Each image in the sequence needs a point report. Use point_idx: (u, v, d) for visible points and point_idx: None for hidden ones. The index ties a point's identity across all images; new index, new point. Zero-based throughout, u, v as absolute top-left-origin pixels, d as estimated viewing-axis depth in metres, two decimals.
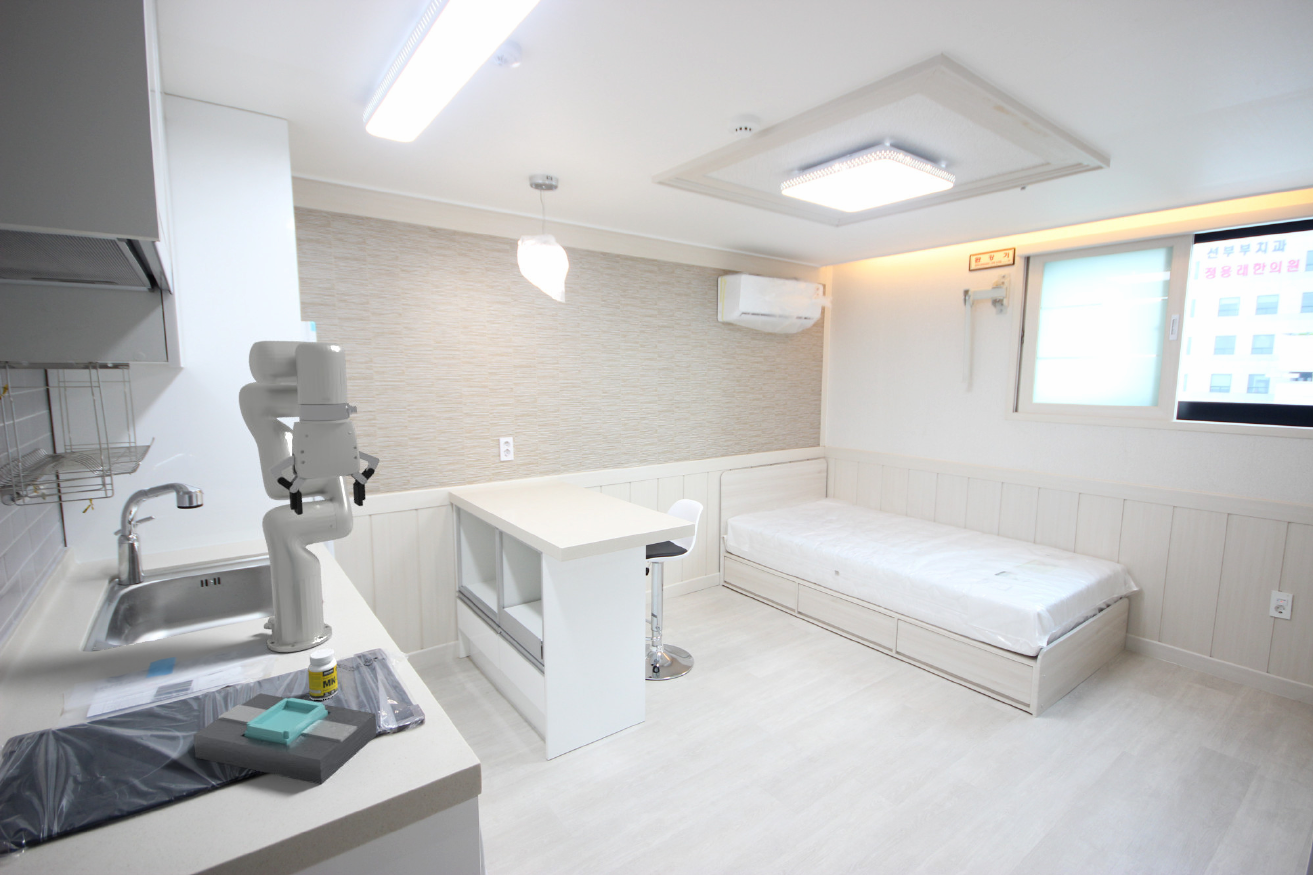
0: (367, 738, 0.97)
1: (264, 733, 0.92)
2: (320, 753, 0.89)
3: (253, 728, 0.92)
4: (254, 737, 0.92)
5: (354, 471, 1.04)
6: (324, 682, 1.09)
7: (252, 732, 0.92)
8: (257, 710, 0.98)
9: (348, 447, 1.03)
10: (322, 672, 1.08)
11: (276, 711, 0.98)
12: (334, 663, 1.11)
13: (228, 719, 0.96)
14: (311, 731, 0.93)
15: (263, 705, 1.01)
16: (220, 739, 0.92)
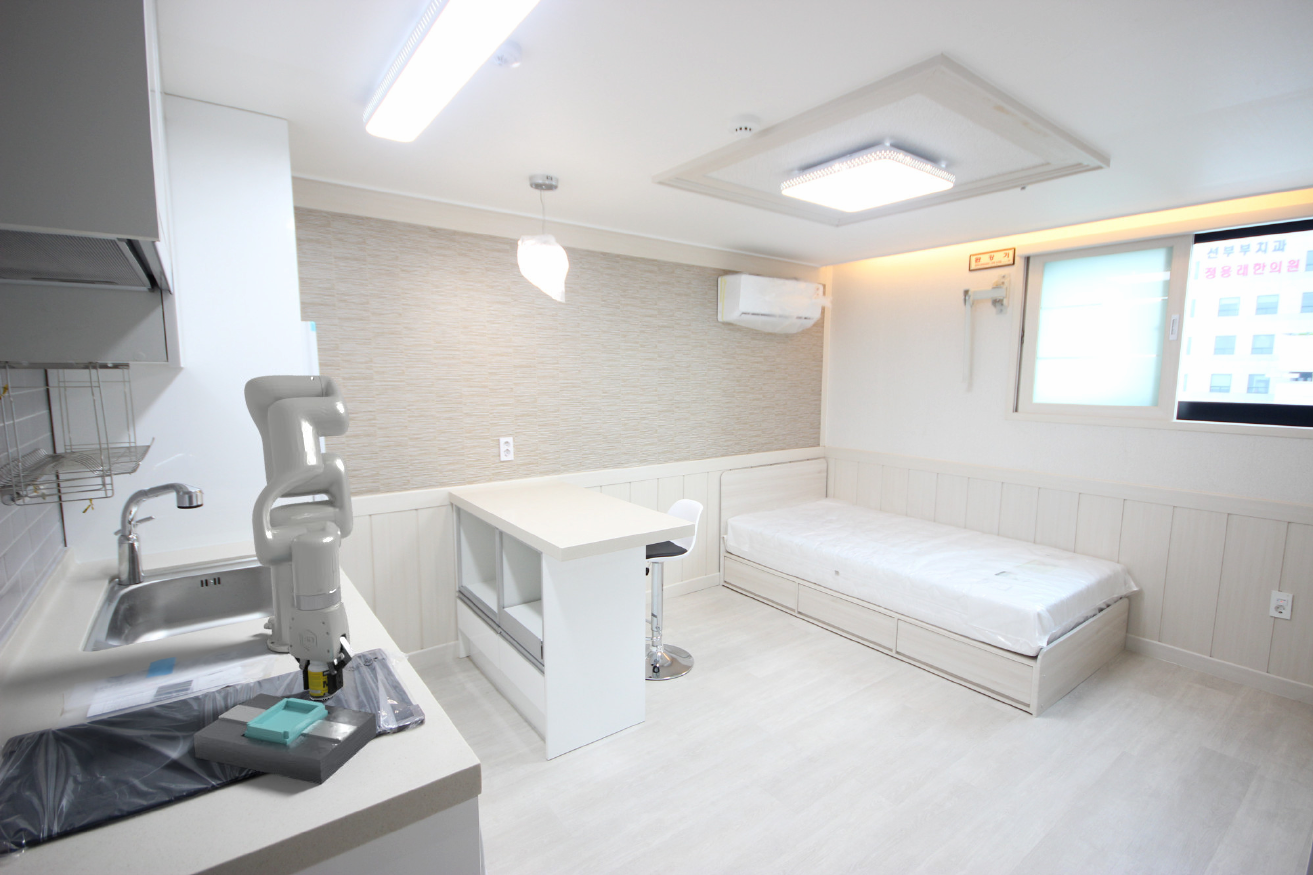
0: (367, 738, 0.97)
1: (264, 733, 0.92)
2: (320, 753, 0.89)
3: (253, 728, 0.92)
4: (254, 737, 0.92)
5: None
6: (324, 682, 1.09)
7: (252, 732, 0.92)
8: (257, 710, 0.98)
9: None
10: (322, 671, 1.08)
11: (276, 711, 0.98)
12: None
13: (228, 719, 0.96)
14: (311, 731, 0.93)
15: (263, 705, 1.01)
16: (220, 739, 0.92)
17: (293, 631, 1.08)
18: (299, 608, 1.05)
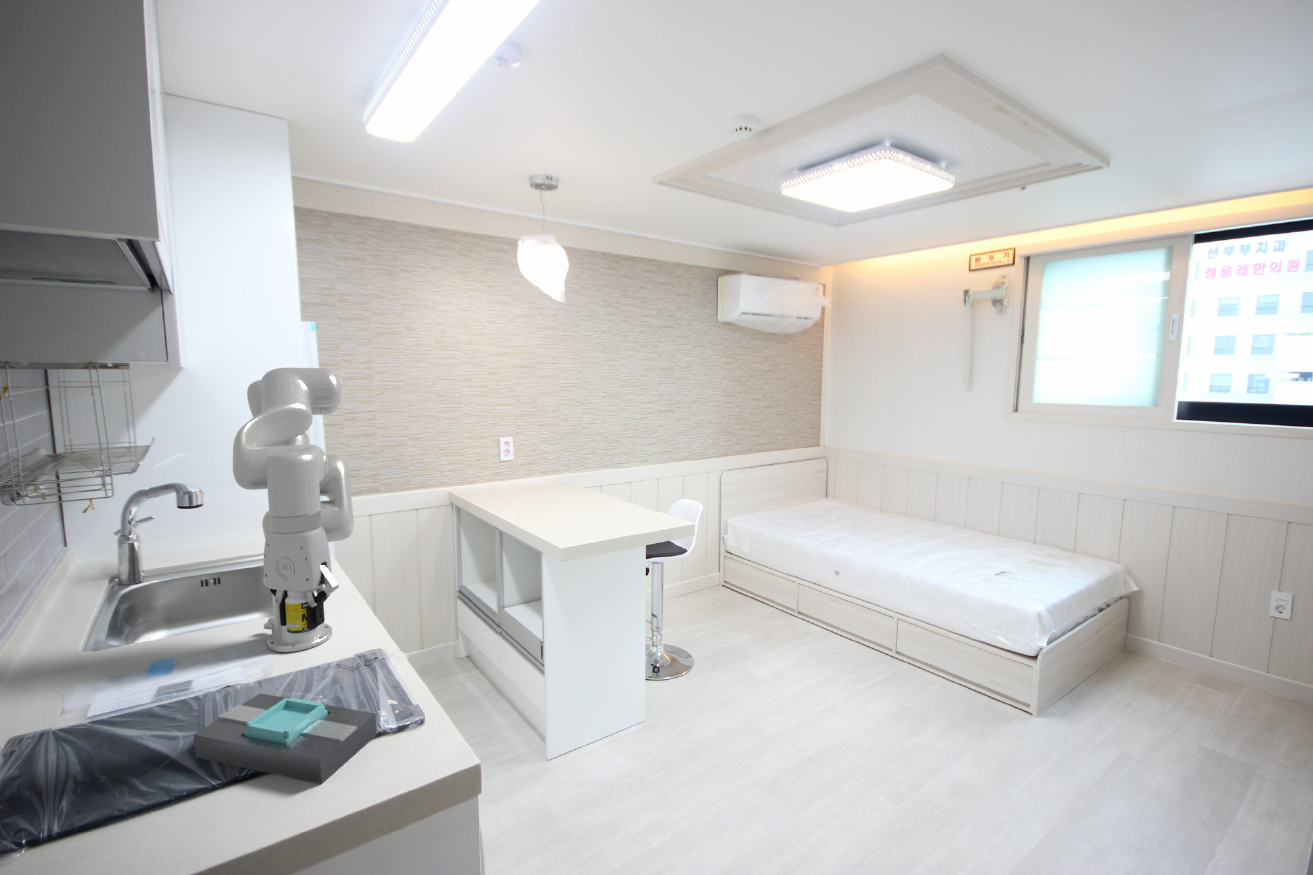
0: (367, 738, 0.97)
1: (264, 733, 0.92)
2: (320, 753, 0.89)
3: (253, 728, 0.92)
4: (254, 737, 0.92)
5: None
6: (303, 615, 0.99)
7: (252, 732, 0.92)
8: (257, 710, 0.98)
9: None
10: (300, 603, 0.99)
11: (276, 711, 0.98)
12: None
13: (228, 719, 0.96)
14: (311, 731, 0.93)
15: (263, 705, 1.01)
16: (220, 739, 0.92)
17: (268, 559, 0.98)
18: (275, 531, 0.96)
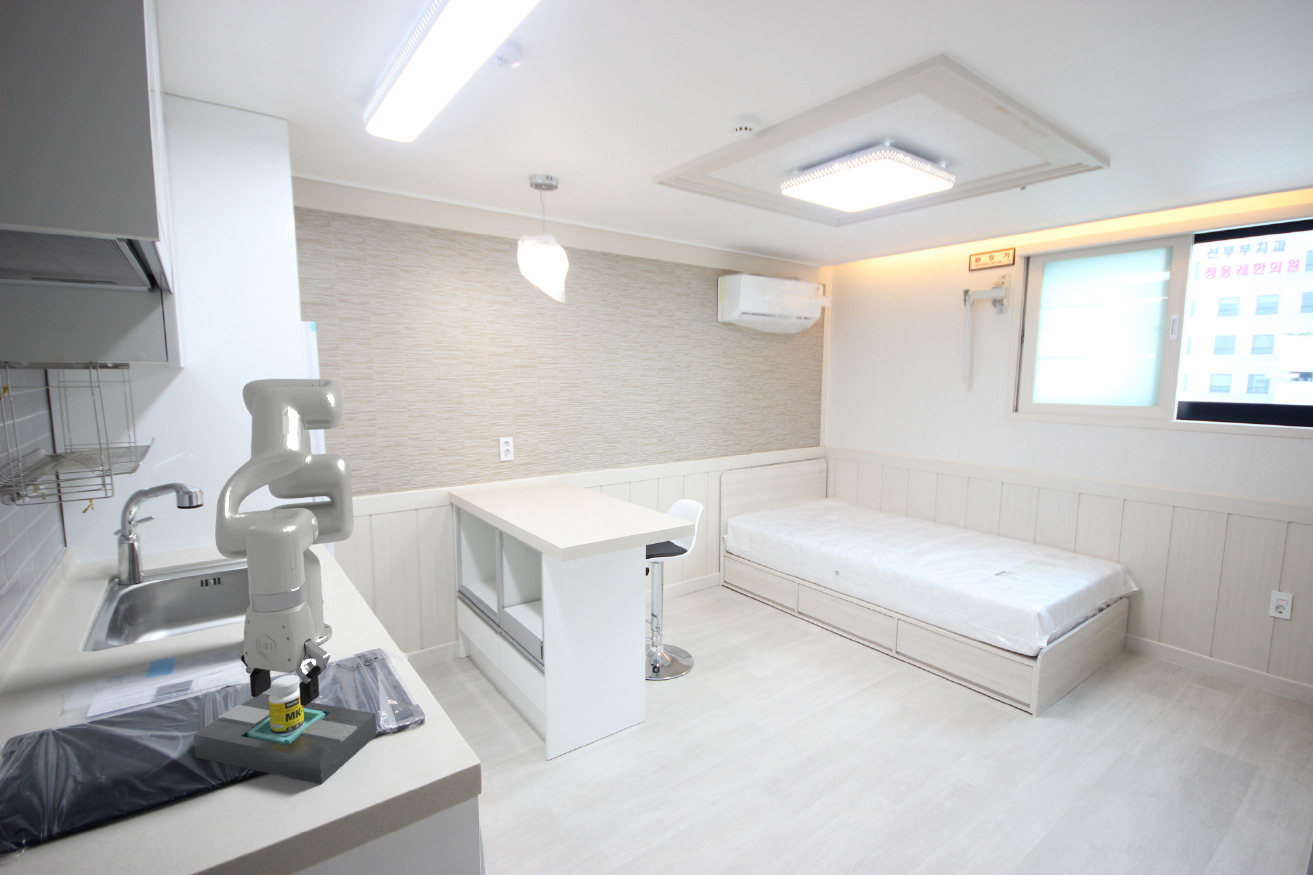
0: (367, 738, 0.97)
1: None
2: (320, 753, 0.89)
3: (254, 737, 0.93)
4: None
5: None
6: (287, 715, 0.94)
7: None
8: (257, 710, 0.98)
9: None
10: (284, 703, 0.93)
11: None
12: (299, 692, 0.96)
13: (228, 719, 0.96)
14: (311, 731, 0.93)
15: (263, 705, 1.01)
16: (220, 739, 0.92)
17: (249, 636, 0.92)
18: (255, 609, 0.90)
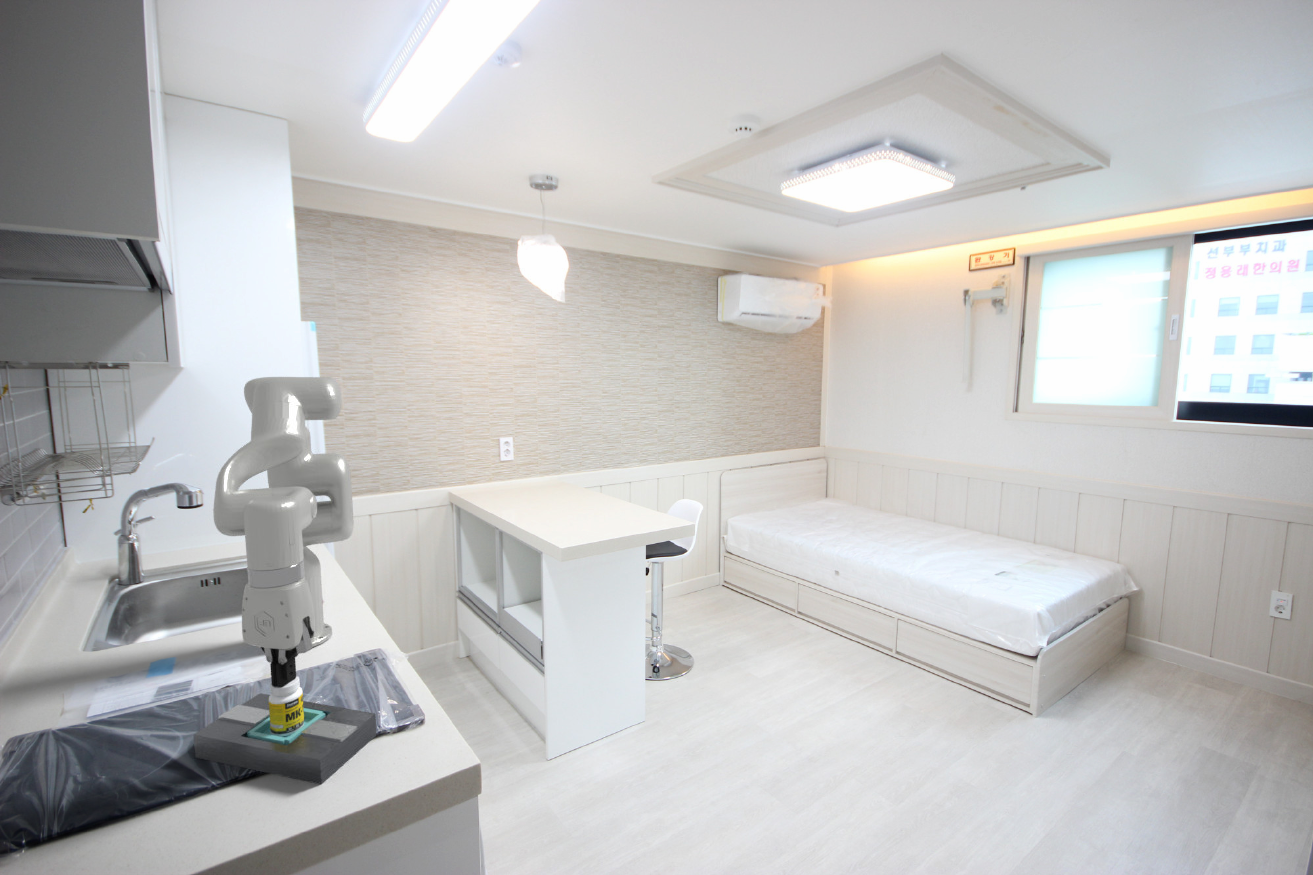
0: (367, 738, 0.97)
1: None
2: (320, 753, 0.89)
3: (254, 737, 0.93)
4: None
5: None
6: (287, 715, 0.94)
7: None
8: (257, 710, 0.98)
9: None
10: (284, 704, 0.93)
11: None
12: (299, 693, 0.95)
13: (228, 719, 0.96)
14: (311, 731, 0.93)
15: (263, 705, 1.01)
16: (220, 739, 0.92)
17: (247, 613, 0.91)
18: (253, 585, 0.89)
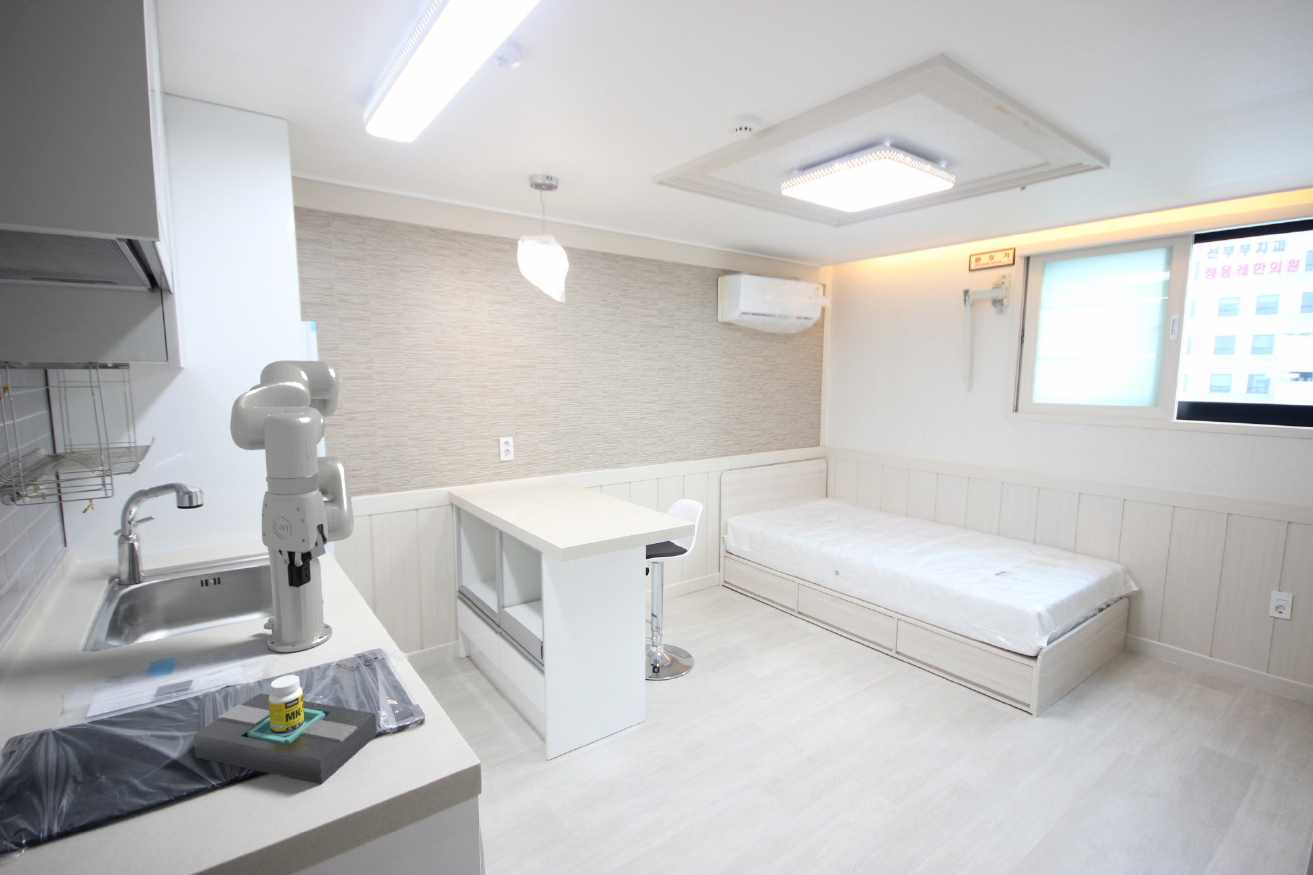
0: (367, 738, 0.97)
1: None
2: (320, 753, 0.89)
3: (254, 737, 0.93)
4: None
5: None
6: (287, 715, 0.94)
7: None
8: (257, 710, 0.98)
9: None
10: (284, 703, 0.93)
11: None
12: (299, 692, 0.96)
13: (228, 719, 0.96)
14: (311, 731, 0.93)
15: (263, 705, 1.01)
16: (220, 739, 0.92)
17: (266, 519, 1.00)
18: (272, 492, 0.97)
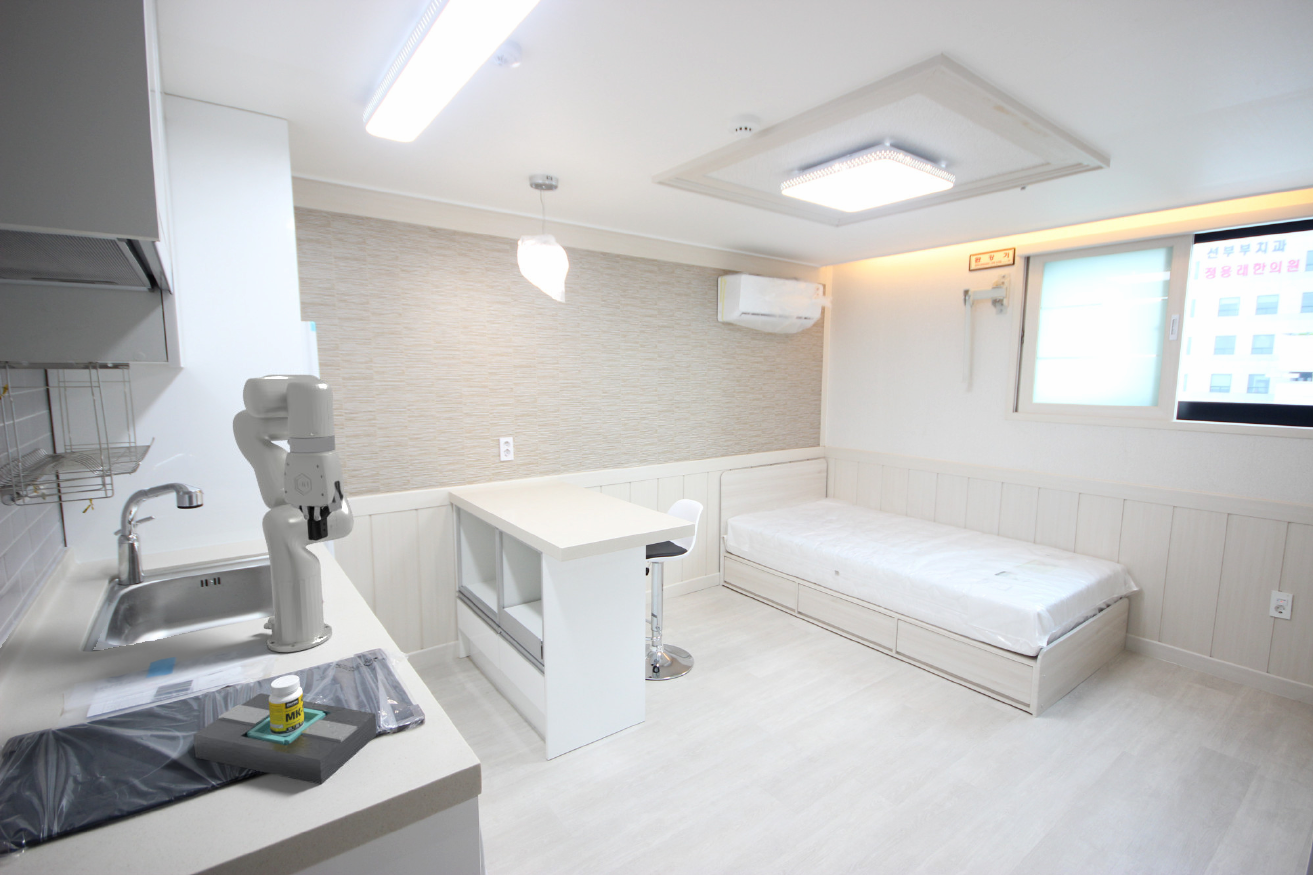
0: (367, 738, 0.97)
1: None
2: (320, 753, 0.89)
3: (254, 737, 0.93)
4: None
5: None
6: (287, 715, 0.94)
7: None
8: (257, 710, 0.98)
9: None
10: (284, 703, 0.93)
11: None
12: (299, 692, 0.96)
13: (228, 719, 0.96)
14: (311, 731, 0.93)
15: (263, 705, 1.01)
16: (220, 739, 0.92)
17: (288, 477, 1.10)
18: (294, 451, 1.08)
